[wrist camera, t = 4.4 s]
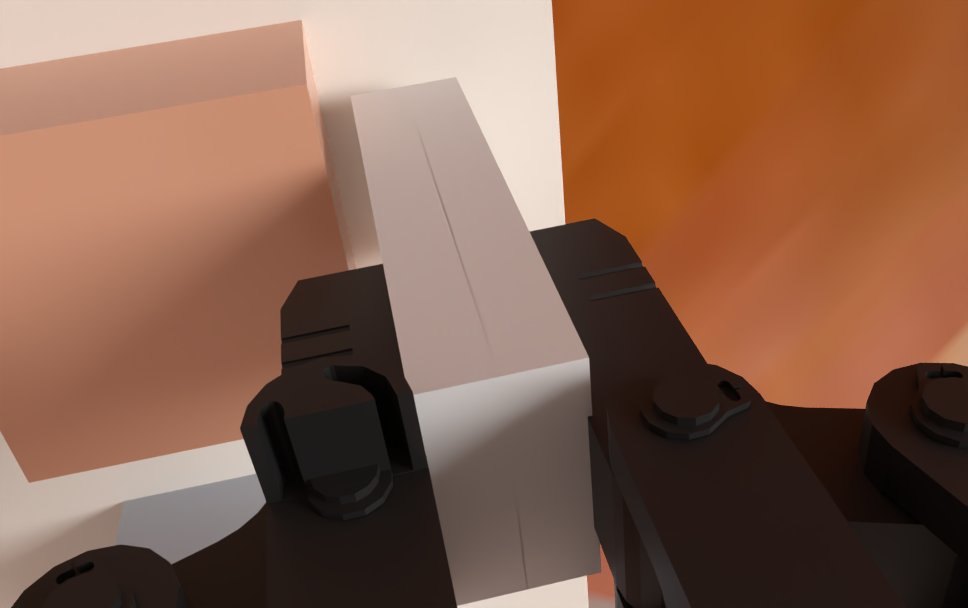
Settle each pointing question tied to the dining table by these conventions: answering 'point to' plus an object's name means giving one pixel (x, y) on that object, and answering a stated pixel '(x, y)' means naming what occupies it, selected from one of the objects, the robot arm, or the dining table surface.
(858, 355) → the dining table surface
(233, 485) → the slate tile
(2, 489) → the raised board
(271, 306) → the terracotta tile
